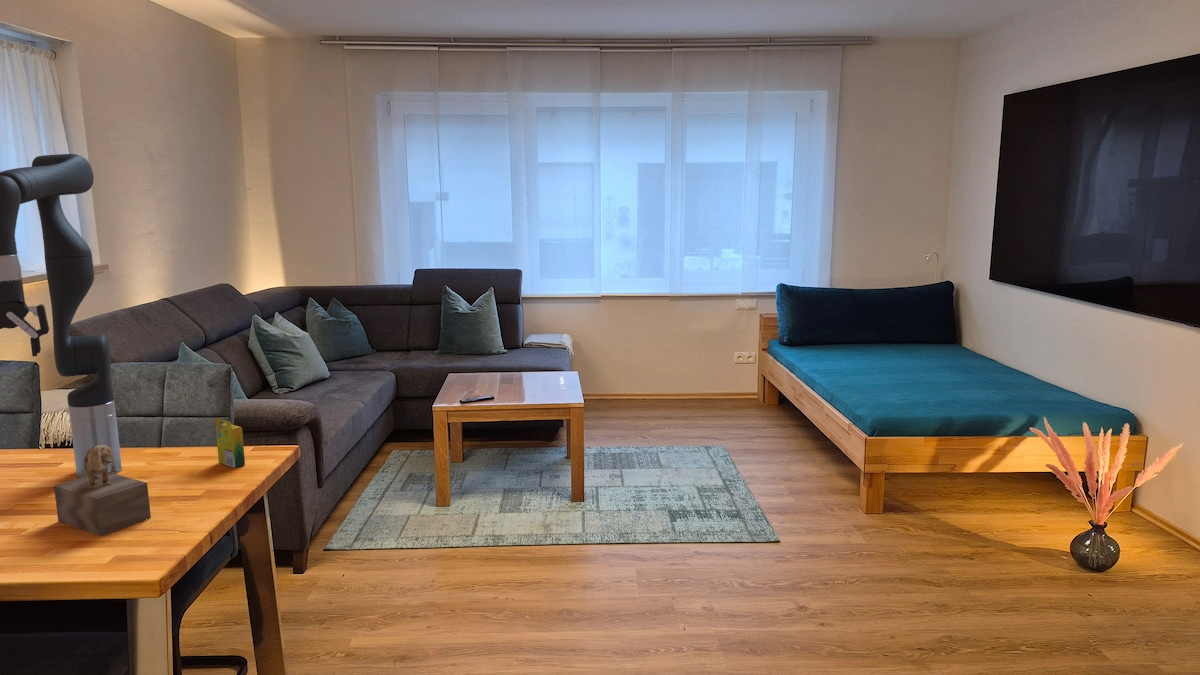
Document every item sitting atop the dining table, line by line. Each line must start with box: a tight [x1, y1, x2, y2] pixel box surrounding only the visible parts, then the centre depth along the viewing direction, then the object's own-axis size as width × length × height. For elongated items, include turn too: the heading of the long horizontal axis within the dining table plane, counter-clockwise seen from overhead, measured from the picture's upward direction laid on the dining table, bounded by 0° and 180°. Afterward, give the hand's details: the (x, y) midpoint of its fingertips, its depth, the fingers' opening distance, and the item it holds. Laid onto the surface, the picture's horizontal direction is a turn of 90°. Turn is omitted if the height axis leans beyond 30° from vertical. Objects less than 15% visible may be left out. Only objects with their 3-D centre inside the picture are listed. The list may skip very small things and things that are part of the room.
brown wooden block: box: [53, 472, 152, 537], centre depth 162 cm, size 15×10×8 cm, turn 62°
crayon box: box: [214, 417, 246, 469], centre depth 195 cm, size 7×3×12 cm, turn 54°
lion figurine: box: [84, 445, 118, 489], centre depth 162 cm, size 15×5×9 cm, turn 31°
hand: (9, 358), depth 160 cm, fingers open, 8 cm apart
